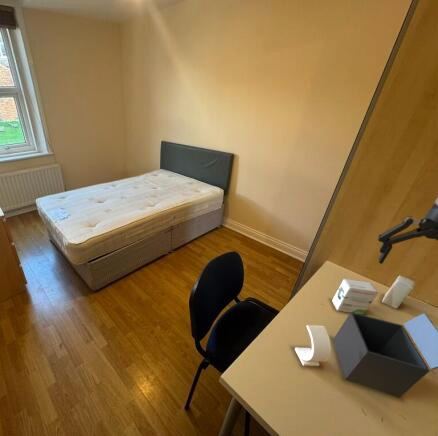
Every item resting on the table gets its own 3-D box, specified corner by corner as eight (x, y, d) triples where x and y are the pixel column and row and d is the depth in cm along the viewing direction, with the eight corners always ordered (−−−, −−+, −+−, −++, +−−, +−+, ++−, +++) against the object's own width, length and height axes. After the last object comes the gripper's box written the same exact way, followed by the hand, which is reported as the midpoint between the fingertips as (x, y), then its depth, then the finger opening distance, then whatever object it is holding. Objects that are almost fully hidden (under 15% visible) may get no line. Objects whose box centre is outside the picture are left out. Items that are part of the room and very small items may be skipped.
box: (384, 295, 91) (399, 274, 85) (399, 302, 88) (415, 281, 83) (381, 302, 88) (396, 281, 83) (396, 309, 85) (413, 288, 80)
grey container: (379, 352, 72) (402, 325, 65) (399, 398, 61) (430, 371, 55) (333, 339, 76) (350, 311, 69) (345, 379, 65) (367, 352, 59)
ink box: (357, 304, 87) (371, 282, 81) (364, 315, 83) (380, 292, 77) (331, 300, 89) (343, 277, 84) (336, 310, 85) (350, 287, 79)
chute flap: (403, 323, 65) (404, 324, 65) (430, 368, 54) (432, 369, 54) (424, 312, 61) (425, 313, 61) (457, 359, 51) (459, 360, 51)
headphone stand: (309, 349, 73) (323, 325, 67) (320, 369, 68) (337, 345, 62) (294, 348, 73) (307, 325, 67) (304, 369, 68) (319, 345, 62)
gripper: (390, 201, 64) (357, 260, 75) (546, 230, 50) (478, 298, 61) (388, 192, 69) (358, 248, 80) (530, 217, 55) (470, 281, 66)
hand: (410, 270), depth 70 cm, fingers open, 13 cm apart
